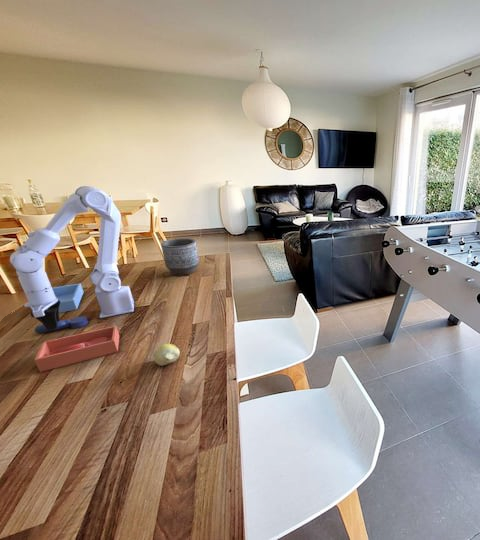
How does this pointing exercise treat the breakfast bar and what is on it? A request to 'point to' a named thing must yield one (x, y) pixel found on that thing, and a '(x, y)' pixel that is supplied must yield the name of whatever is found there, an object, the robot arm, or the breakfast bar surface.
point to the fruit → (166, 354)
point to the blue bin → (68, 296)
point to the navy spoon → (64, 324)
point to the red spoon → (79, 345)
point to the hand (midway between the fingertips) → (53, 326)
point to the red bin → (73, 356)
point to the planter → (180, 255)
